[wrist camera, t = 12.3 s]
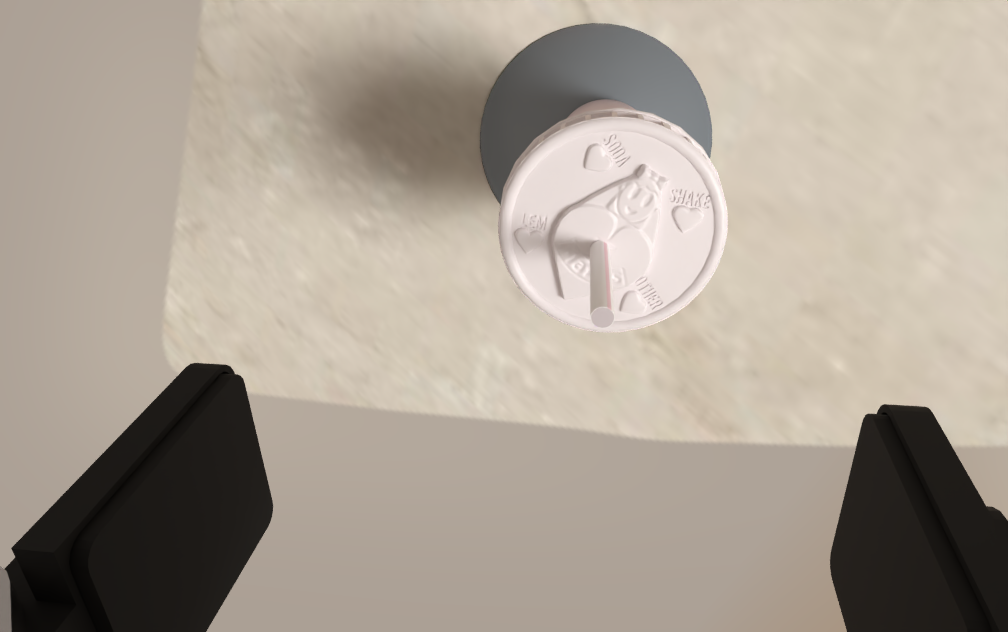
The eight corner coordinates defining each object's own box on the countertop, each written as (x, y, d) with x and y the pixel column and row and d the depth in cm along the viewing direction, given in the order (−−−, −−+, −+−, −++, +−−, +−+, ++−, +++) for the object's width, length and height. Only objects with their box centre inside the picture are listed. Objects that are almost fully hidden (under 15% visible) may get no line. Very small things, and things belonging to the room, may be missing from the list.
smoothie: (491, 171, 30) (425, 332, 18) (582, 26, 27) (578, 96, 15) (623, 253, 31) (647, 461, 19) (722, 122, 28) (829, 262, 16)
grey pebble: (466, 217, 33) (462, 223, 32) (508, -4, 28) (504, -2, 27) (669, 267, 32) (670, 275, 32) (743, 52, 28) (746, 55, 27)
